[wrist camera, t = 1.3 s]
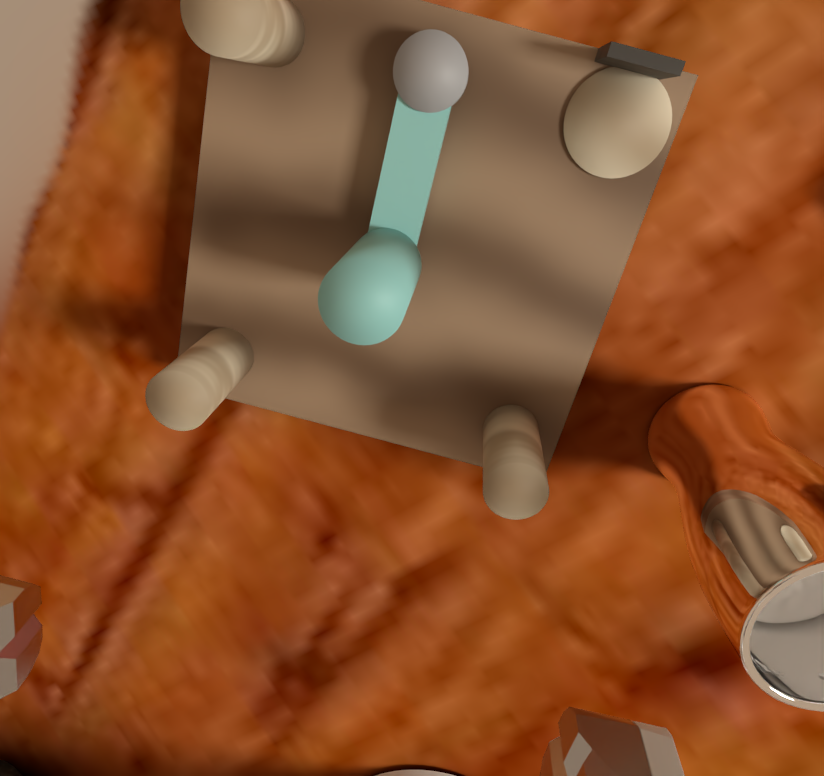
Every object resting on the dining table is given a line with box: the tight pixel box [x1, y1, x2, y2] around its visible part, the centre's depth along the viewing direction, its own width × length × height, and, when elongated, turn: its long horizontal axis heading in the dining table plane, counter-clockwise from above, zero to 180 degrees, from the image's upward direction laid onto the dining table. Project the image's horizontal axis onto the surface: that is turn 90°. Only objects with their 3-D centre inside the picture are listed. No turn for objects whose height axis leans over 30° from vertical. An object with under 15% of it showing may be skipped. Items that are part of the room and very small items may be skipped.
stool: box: [145, 0, 698, 519], centre depth 29 cm, size 20×20×8 cm
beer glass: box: [648, 384, 824, 712], centre depth 29 cm, size 7×7×15 cm
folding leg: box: [318, 29, 469, 345], centre depth 26 cm, size 11×3×8 cm, turn 166°
